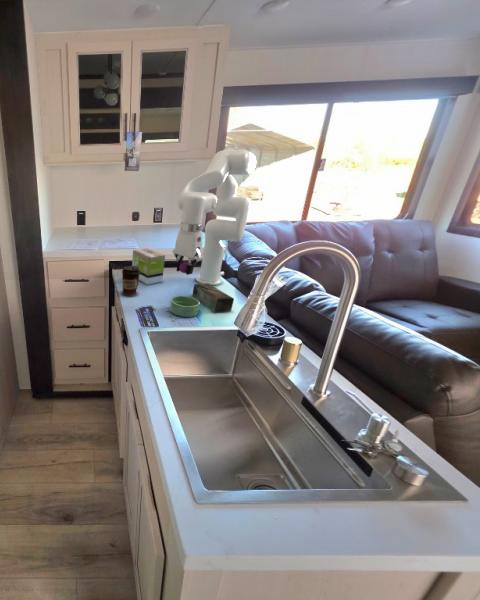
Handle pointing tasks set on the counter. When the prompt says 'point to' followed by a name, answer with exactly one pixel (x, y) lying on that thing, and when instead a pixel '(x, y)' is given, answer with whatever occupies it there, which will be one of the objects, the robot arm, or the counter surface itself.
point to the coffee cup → (130, 280)
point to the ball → (183, 267)
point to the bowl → (184, 306)
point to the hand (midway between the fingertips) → (184, 271)
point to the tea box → (149, 265)
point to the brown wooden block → (212, 297)
